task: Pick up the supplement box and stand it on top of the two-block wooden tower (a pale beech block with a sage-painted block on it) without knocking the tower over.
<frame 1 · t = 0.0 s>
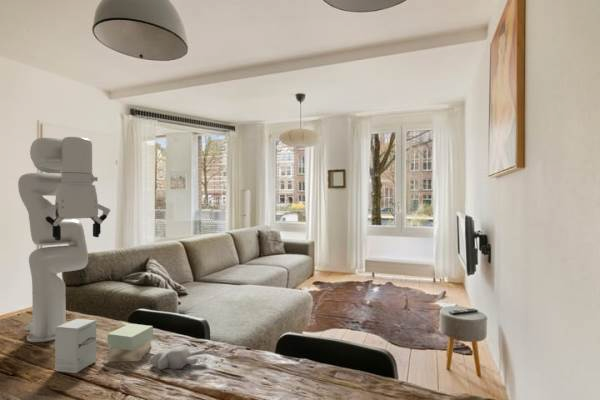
hand: (77, 238, 98), 37 cm above the table, tool pointing down, fingers open, 9 cm apart
block top: (130, 342, 105), point 4 cm above the table
bunny figurine: (177, 366, 98), on the table
supplement box: (76, 366, 98), on the table
block bottom: (130, 355, 105), on the table
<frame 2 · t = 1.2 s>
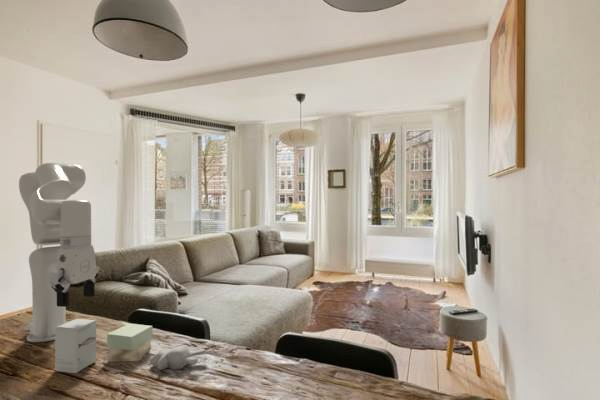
hand: (76, 301, 98), 19 cm above the table, tool pointing down, fingers open, 9 cm apart
block top: (130, 342, 105), point 4 cm above the table, touching block bottom
block bottom: (130, 355, 105), on the table, touching block top
everything else where it was.
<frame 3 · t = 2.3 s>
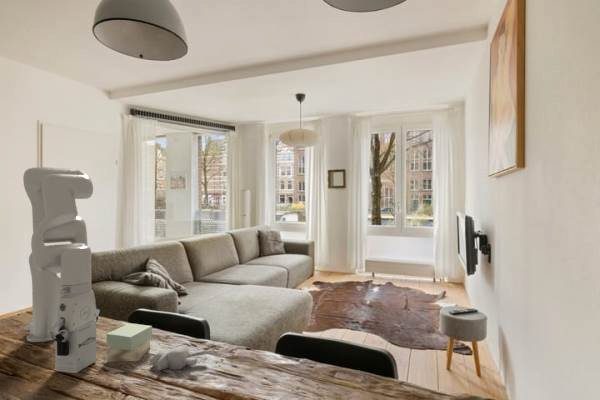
hand: (76, 347, 97), 5 cm above the table, tool pointing down, fingers open, 9 cm apart
block top: (130, 342, 105), point 4 cm above the table
block bottom: (129, 355, 105), on the table
everything else where it was.
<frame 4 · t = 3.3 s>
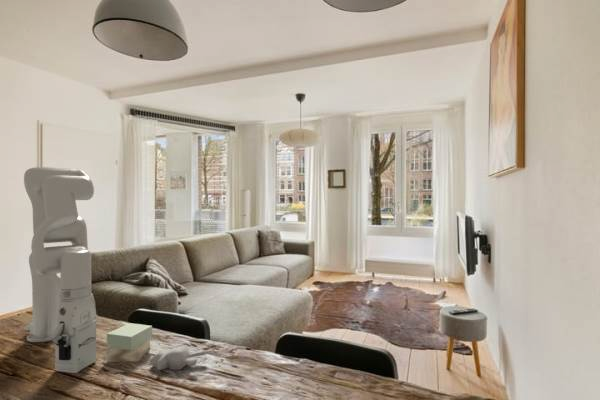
hand: (76, 352, 98), 4 cm above the table, tool pointing down, fingers closed on supplement box, 7 cm apart
supplement box: (76, 366, 98), on the table, touching gripper
everything else where it was.
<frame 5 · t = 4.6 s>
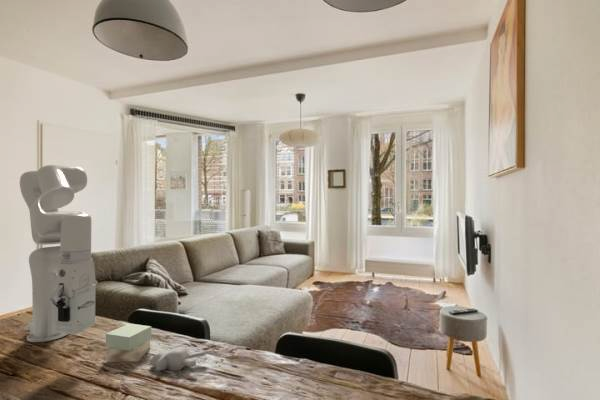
hand: (75, 315, 98), 15 cm above the table, tool pointing down, fingers closed on supplement box, 7 cm apart
supplement box: (75, 329, 98), point 10 cm above the table, touching gripper
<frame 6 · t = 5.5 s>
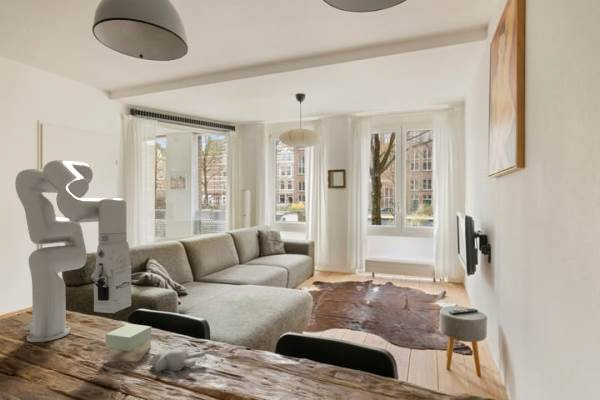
hand: (113, 295, 103), 19 cm above the table, tool pointing down, fingers closed on supplement box, 7 cm apart
block top: (129, 343, 105), point 4 cm above the table, touching block bottom
supplement box: (113, 309, 103), point 15 cm above the table, touching gripper
block bottom: (130, 355, 105), on the table, touching block top
when the fingers open (13 cm above the table, at t = 7.8 s): supplement box drops 2 cm, resting on block top.
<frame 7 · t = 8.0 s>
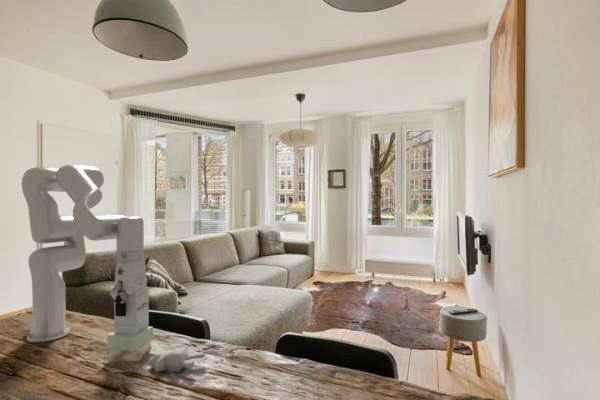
hand: (130, 310, 105), 14 cm above the table, tool pointing down, fingers open, 9 cm apart
block top: (131, 343, 105), point 3 cm above the table, touching block bottom, supplement box
supplement box: (132, 329, 106), point 7 cm above the table, touching block top, gripper
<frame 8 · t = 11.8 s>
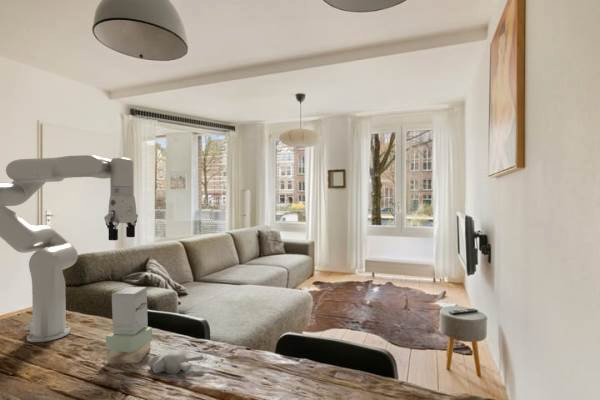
hand: (122, 238, 123), 34 cm above the table, tool pointing down, fingers open, 9 cm apart
block top: (129, 344, 104), point 4 cm above the table, touching block bottom, supplement box
supplement box: (131, 330, 105), point 8 cm above the table, touching block top
at the end: supplement box inside the target area on the block top (0.9 cm from its centre), point 3.9 cm above the block top's base; supplement box tilted 2°; block top 0.4 cm off-centre on the block bottom, point 4.0 cm above the block bottom's base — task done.
